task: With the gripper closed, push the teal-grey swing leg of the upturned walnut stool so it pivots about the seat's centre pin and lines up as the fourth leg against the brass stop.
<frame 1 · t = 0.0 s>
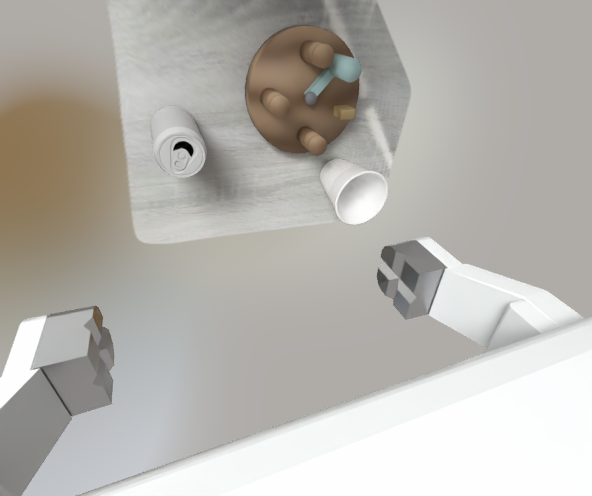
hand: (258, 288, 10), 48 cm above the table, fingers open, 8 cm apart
swing leg: (329, 82, 51), point 5 cm above the table, hinge at 45.0°
cup: (333, 173, 66), on the table
stool seat: (300, 92, 55), on the table
beverage can: (173, 127, 52), on the table
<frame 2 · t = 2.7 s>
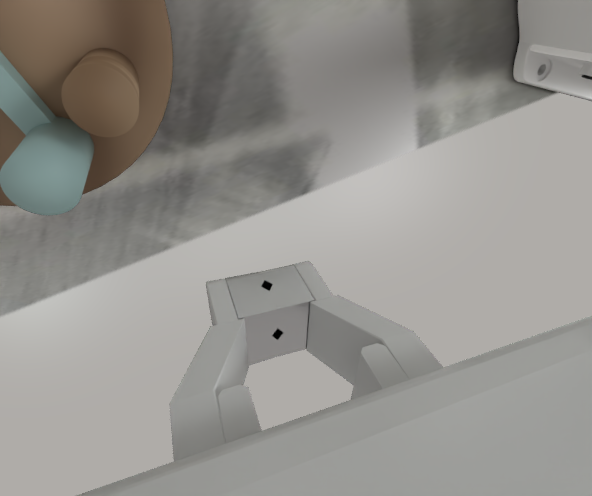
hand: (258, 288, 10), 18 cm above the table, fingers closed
swing leg: (6, 111, 16), point 5 cm above the table, hinge at 45.0°
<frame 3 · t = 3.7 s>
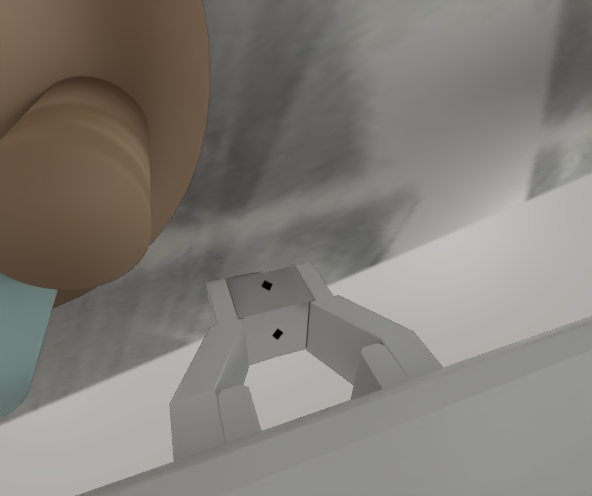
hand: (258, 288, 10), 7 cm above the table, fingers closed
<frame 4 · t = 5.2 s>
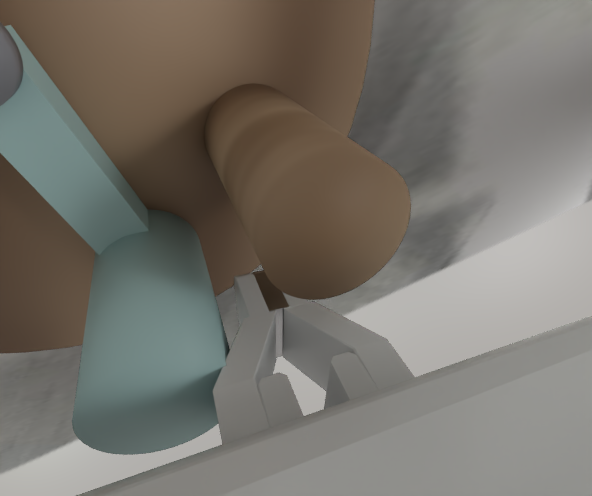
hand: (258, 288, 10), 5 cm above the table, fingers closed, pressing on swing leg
swing leg: (81, 235, 7), point 5 cm above the table, hinge at 43.2°, touching gripper
stool seat: (14, 32, 9), on the table
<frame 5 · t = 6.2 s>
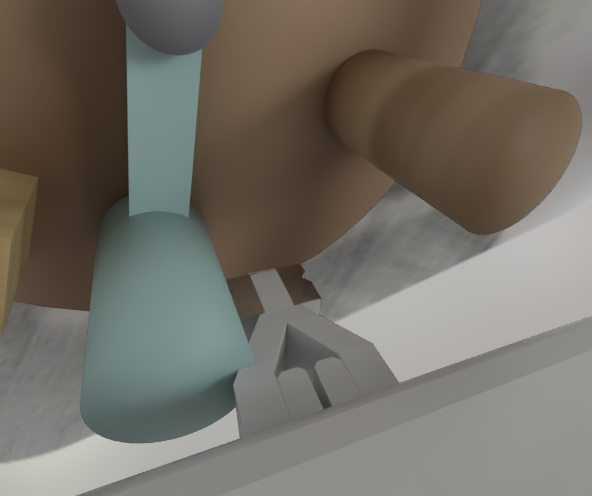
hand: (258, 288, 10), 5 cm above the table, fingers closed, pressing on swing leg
swing leg: (168, 193, 7), point 5 cm above the table, hinge at 12.0°, touching gripper
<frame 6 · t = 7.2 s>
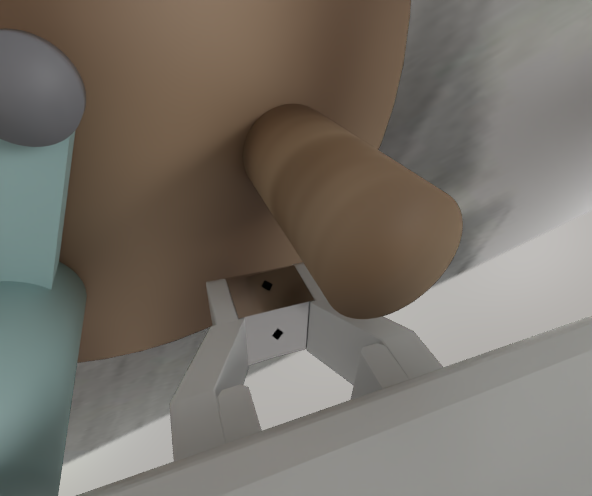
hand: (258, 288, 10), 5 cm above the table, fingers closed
stool seat: (60, 57, 9), on the table
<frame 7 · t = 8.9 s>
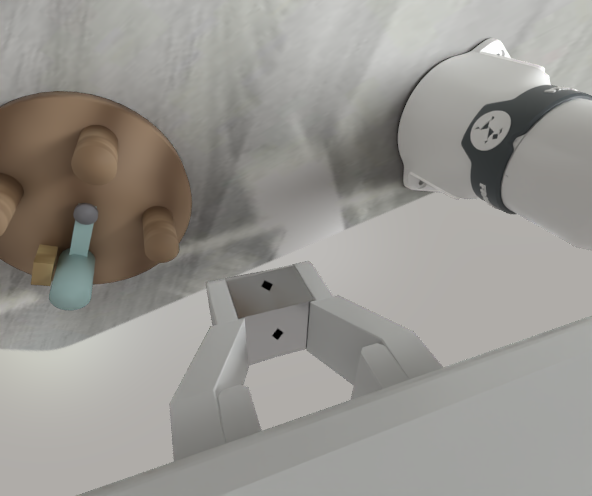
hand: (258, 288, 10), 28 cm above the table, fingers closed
swing leg: (78, 253, 30), point 5 cm above the table, hinge at -0.2°
stool seat: (89, 193, 33), on the table
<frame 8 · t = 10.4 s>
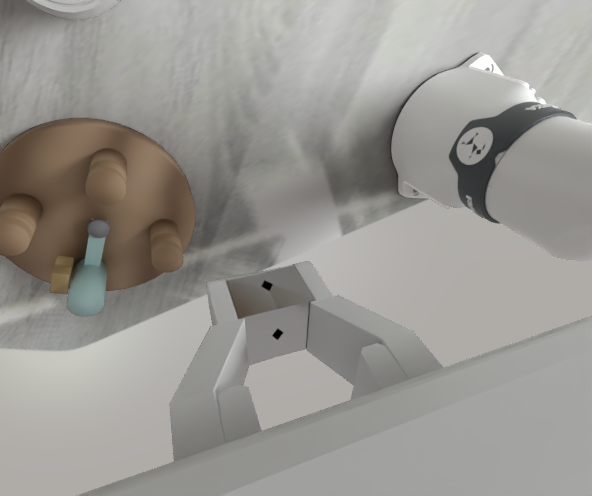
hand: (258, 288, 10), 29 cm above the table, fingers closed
swing leg: (92, 264, 33), point 5 cm above the table, hinge at -0.2°
stool seat: (101, 208, 36), on the table
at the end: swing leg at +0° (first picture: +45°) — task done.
